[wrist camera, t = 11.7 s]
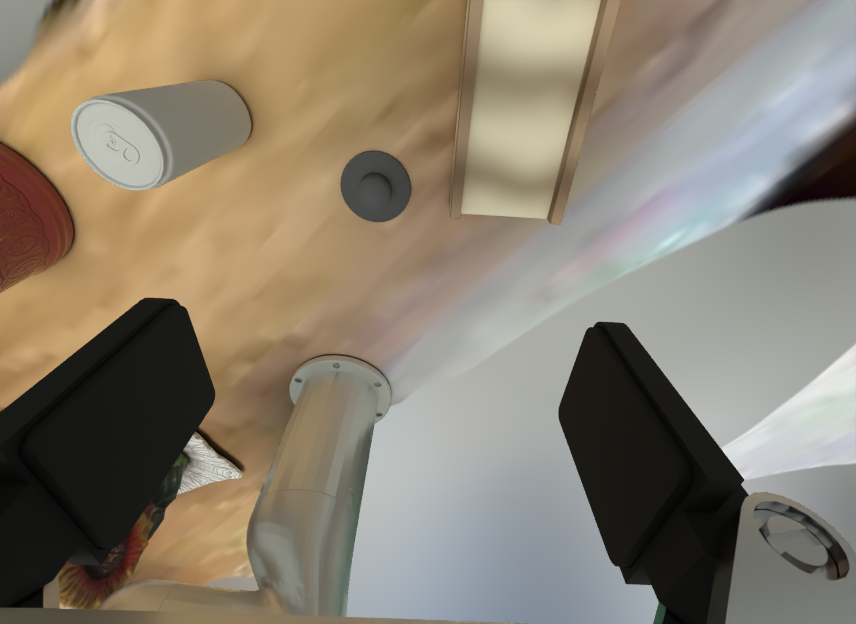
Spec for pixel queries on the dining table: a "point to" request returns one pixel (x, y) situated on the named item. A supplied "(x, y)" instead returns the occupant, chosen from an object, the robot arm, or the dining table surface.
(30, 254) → the canister
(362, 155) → the tee
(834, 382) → the dining table surface
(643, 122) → the dining table surface
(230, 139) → the beverage can
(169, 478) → the cookie jar
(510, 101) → the lane
